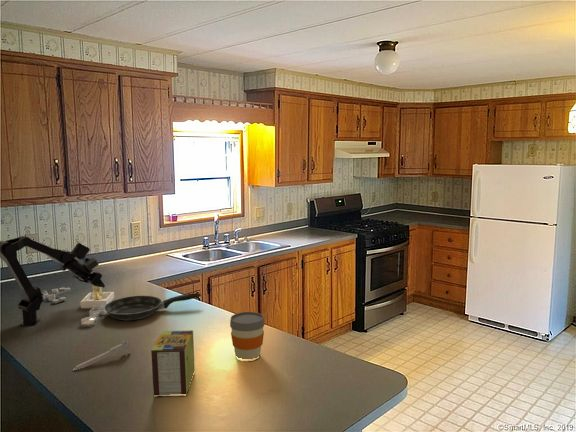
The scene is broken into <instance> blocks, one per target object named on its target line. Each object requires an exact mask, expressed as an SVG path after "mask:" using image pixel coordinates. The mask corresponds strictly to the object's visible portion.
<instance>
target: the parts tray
mask: <svg viewBox="0 0 576 432" xmlns="http://www.w3.org/2000/svg"><path fill="white" fill-rule="evenodd" d="M114 299H115V292H114V291H106V292H105V291H102V300H95V301H93V292H89V293H88V294H86V296H85V297H83V298H82V300H80V309H92V308H93V307H94V306H106V305H107V304H108V303H110V302H112V301H114Z"/></svg>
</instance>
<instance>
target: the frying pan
mask: <svg viewBox="0 0 576 432" xmlns="http://www.w3.org/2000/svg"><path fill="white" fill-rule="evenodd" d="M201 296H202V294H201V293H199V292H198V293H196V292H195V293H186V294H181V295H176V296H174V297H173V296H172V297H170V298H168V299H164V300H163V301H162V299H160V298H159V297H156V296H152V295H133V296H126V297H121V298H118V299H115V300H114V299H113V301H112V302H110V303H108V304H107V305H106V306H105V310H106V311H107V314H108V315H109V316H110V317H112V318H114V319H116V320H118V321H119V320H120V321H136V320H141V319H145V318H148V317H150V316H152V315H154V314H155V313H156V312H157V311H160V310H163V309H165V310H166V309H168V308H169V306H170V305H171V304H172V303H175V302H184V301H189V300H193V299H197V298H199V297H201Z"/></svg>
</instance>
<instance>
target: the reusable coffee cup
mask: <svg viewBox="0 0 576 432" xmlns="http://www.w3.org/2000/svg"><path fill="white" fill-rule="evenodd" d="M265 324H266V323H265V317H264V315H263V314H262V313H259V312H256V311H255V312H254V311H243V312H237V313H234V314H232V315H231V316H230V322H229V326H230V328H231V331H230V336H231V341H232V346H233V347H234V354H235V357H236V356H237V357H238V358H242V359H253V358H257V357H258V356H259V355H260V356H261V352H262V346H263V344H264V333H265V331H264V327H265Z"/></svg>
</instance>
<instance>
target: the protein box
mask: <svg viewBox="0 0 576 432" xmlns="http://www.w3.org/2000/svg"><path fill="white" fill-rule="evenodd" d="M157 338H158V339H157V340H156V342H155V343H154V345H153V347H152V348H151V349H150V351H151V352H150V354H151V369H152V370H151V371H152V388H153V391H152V392H153V396H154V395H170V394H187V391H188V388H189V385H190V382H191V379H192V376H193V373H194V371H195V372H196V370H195V347H194V345H195V344H194V330H162V331H161V333H160V334H159V337H157ZM191 383H192V382H191ZM190 386H191V385H190ZM189 389H190V388H189ZM188 392H189V391H188ZM187 395H188V394H187Z"/></svg>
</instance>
